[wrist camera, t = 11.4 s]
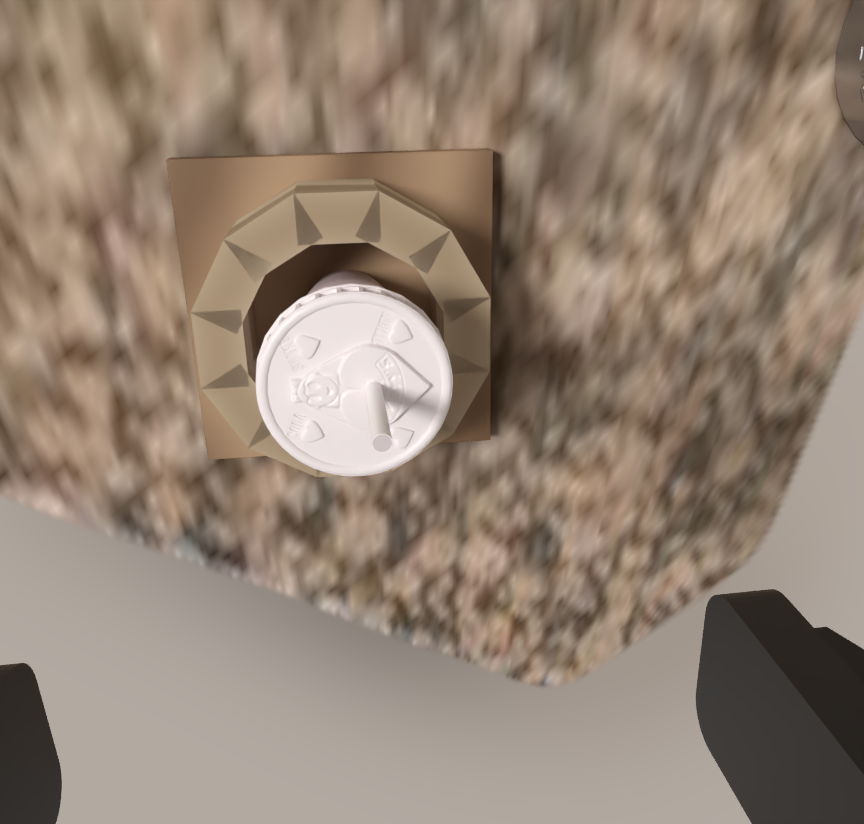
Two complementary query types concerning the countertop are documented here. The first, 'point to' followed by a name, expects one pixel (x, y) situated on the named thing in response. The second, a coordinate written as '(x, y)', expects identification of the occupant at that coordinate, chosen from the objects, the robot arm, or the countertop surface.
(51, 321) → the countertop surface
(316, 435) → the smoothie
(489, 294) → the bottle holder
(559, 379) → the countertop surface
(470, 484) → the countertop surface
